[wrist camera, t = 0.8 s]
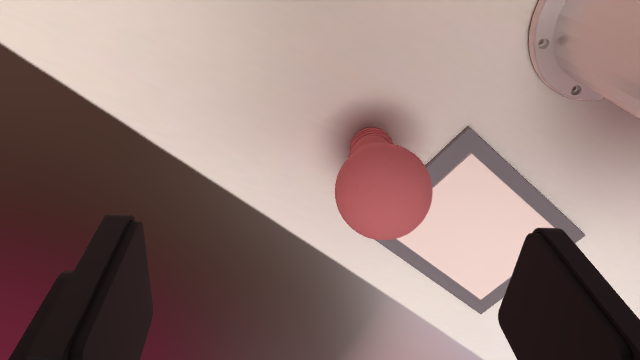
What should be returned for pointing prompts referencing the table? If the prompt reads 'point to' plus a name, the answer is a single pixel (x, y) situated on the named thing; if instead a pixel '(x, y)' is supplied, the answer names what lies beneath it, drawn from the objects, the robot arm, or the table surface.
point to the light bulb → (382, 187)
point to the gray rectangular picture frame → (476, 222)
